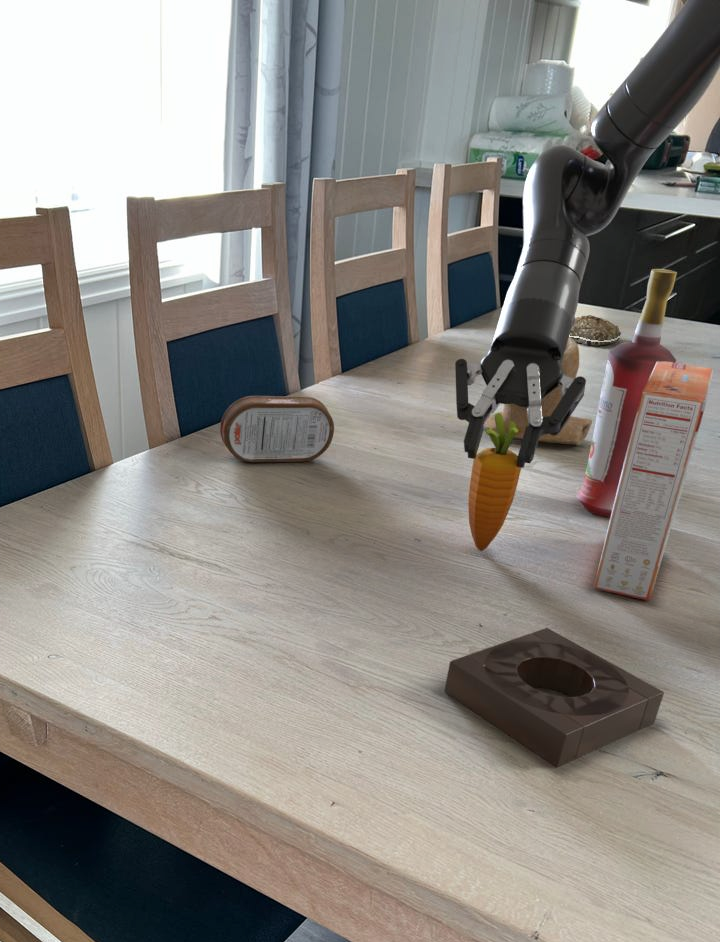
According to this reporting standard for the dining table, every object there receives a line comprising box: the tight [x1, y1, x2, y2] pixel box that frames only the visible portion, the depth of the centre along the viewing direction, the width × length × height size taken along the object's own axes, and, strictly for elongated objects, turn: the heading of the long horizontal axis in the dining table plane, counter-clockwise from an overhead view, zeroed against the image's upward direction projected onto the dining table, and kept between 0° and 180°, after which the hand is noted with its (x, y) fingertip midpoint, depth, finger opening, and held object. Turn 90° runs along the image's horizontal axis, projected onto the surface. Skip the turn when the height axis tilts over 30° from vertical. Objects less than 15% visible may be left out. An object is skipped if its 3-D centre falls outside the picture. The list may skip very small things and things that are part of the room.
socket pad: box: [444, 627, 665, 768], centre depth 79 cm, size 12×12×3 cm
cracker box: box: [593, 361, 714, 601], centre depth 100 cm, size 14×6×21 cm, turn 154°
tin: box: [219, 395, 335, 463], centre depth 127 cm, size 15×3×8 cm, turn 102°
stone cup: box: [484, 338, 593, 446], centre depth 140 cm, size 15×12×15 cm
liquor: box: [576, 268, 678, 517], centre depth 114 cm, size 7×7×28 cm
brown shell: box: [569, 314, 622, 347], centre depth 208 cm, size 13×12×5 cm
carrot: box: [468, 412, 522, 552], centre depth 103 cm, size 5×5×15 cm
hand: (496, 458), depth 100 cm, fingers closed on carrot, 4 cm apart
